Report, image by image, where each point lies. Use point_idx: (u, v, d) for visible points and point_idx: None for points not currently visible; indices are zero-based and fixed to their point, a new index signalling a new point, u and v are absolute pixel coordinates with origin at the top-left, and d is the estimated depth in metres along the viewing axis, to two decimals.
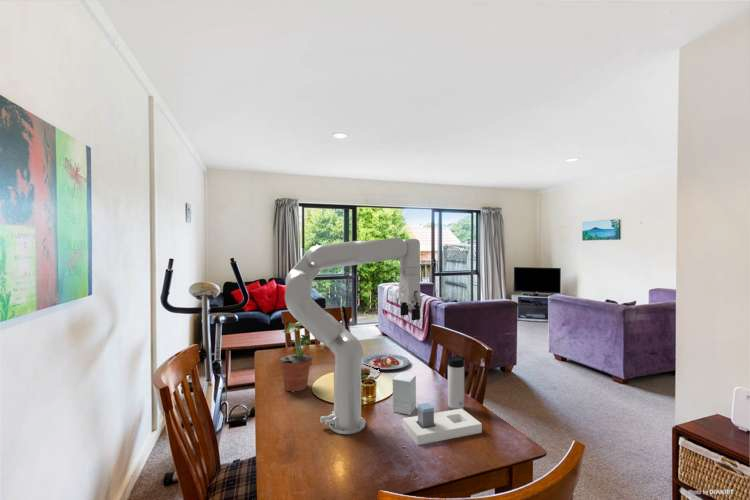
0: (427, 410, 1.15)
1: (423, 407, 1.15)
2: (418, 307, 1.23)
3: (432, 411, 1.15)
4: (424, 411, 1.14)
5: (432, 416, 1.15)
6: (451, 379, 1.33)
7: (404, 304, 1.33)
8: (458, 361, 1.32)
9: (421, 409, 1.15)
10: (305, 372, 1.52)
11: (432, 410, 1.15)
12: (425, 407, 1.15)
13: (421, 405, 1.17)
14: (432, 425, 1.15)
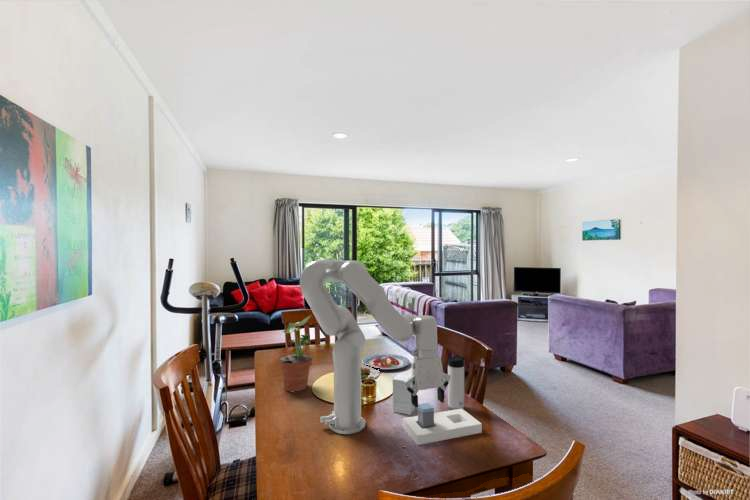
0: (427, 410, 1.15)
1: (423, 407, 1.15)
2: None
3: (432, 411, 1.15)
4: (424, 411, 1.14)
5: (432, 416, 1.15)
6: (451, 379, 1.33)
7: None
8: (458, 361, 1.32)
9: (421, 409, 1.15)
10: (305, 372, 1.52)
11: (432, 410, 1.15)
12: (425, 407, 1.15)
13: (421, 405, 1.17)
14: (432, 425, 1.15)
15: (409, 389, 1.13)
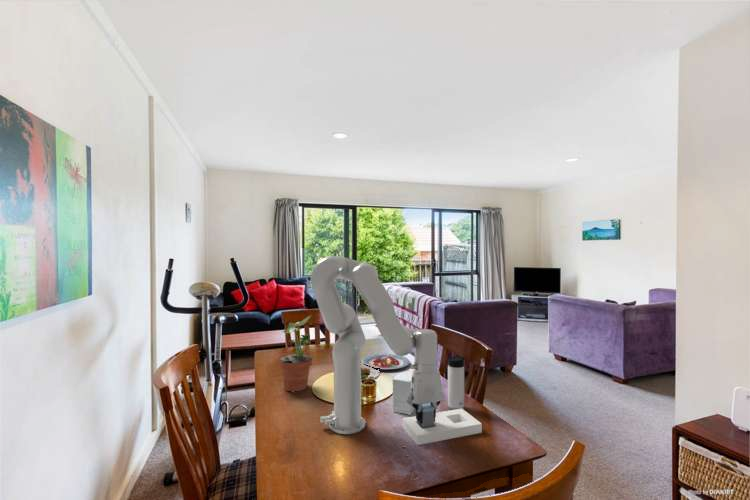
0: (427, 410, 1.15)
1: (423, 407, 1.15)
2: None
3: (432, 411, 1.15)
4: (424, 411, 1.14)
5: (432, 416, 1.15)
6: (451, 379, 1.33)
7: None
8: (458, 361, 1.32)
9: (421, 409, 1.15)
10: (305, 372, 1.52)
11: (432, 410, 1.15)
12: (425, 407, 1.15)
13: None
14: (432, 425, 1.15)
15: (414, 405, 1.14)
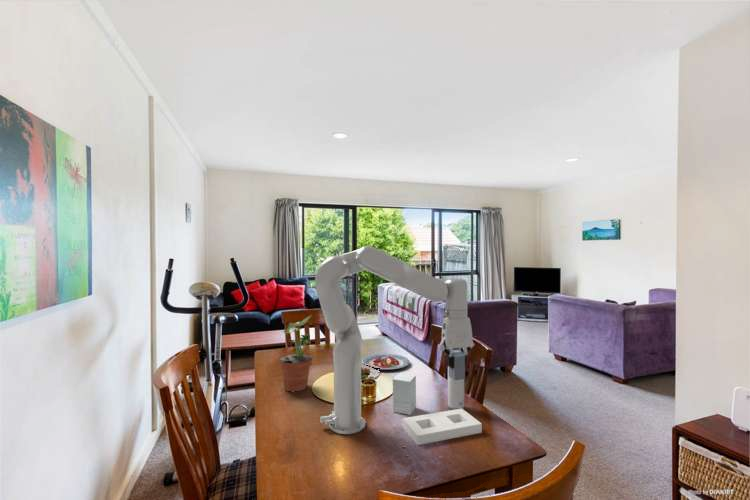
0: (458, 355, 1.18)
1: (454, 352, 1.19)
2: None
3: (463, 356, 1.19)
4: (456, 356, 1.18)
5: (463, 361, 1.19)
6: (451, 379, 1.33)
7: None
8: None
9: None
10: (305, 372, 1.52)
11: (463, 355, 1.19)
12: (456, 352, 1.19)
13: None
14: (463, 370, 1.19)
15: (446, 350, 1.18)
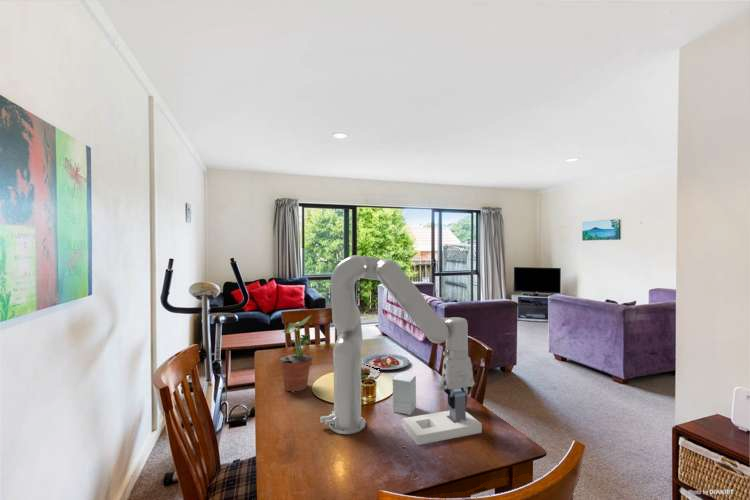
0: (459, 395, 1.18)
1: (455, 392, 1.19)
2: None
3: (464, 396, 1.19)
4: (456, 396, 1.18)
5: (464, 401, 1.19)
6: None
7: None
8: None
9: (453, 394, 1.19)
10: (305, 372, 1.52)
11: (464, 395, 1.19)
12: (457, 392, 1.19)
13: None
14: (464, 409, 1.19)
15: (446, 391, 1.18)
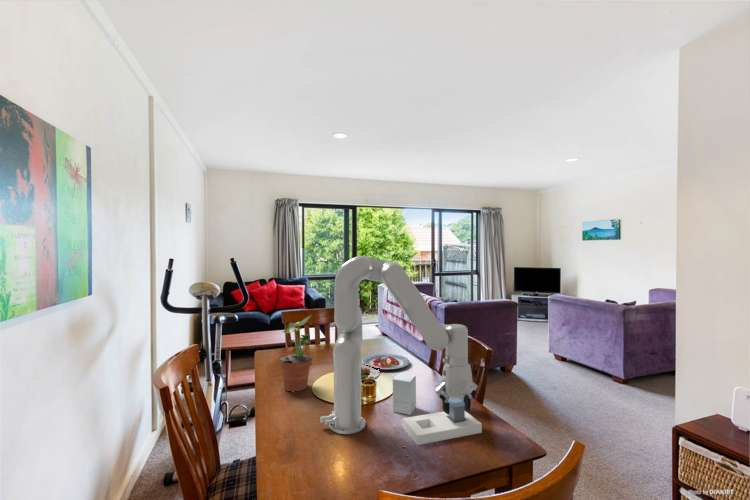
0: (458, 405, 1.18)
1: (454, 402, 1.19)
2: None
3: (463, 406, 1.19)
4: (455, 406, 1.18)
5: (463, 411, 1.19)
6: None
7: None
8: None
9: (452, 404, 1.19)
10: (305, 372, 1.52)
11: (463, 405, 1.19)
12: (456, 402, 1.19)
13: (452, 400, 1.21)
14: (463, 420, 1.19)
15: (441, 396, 1.18)
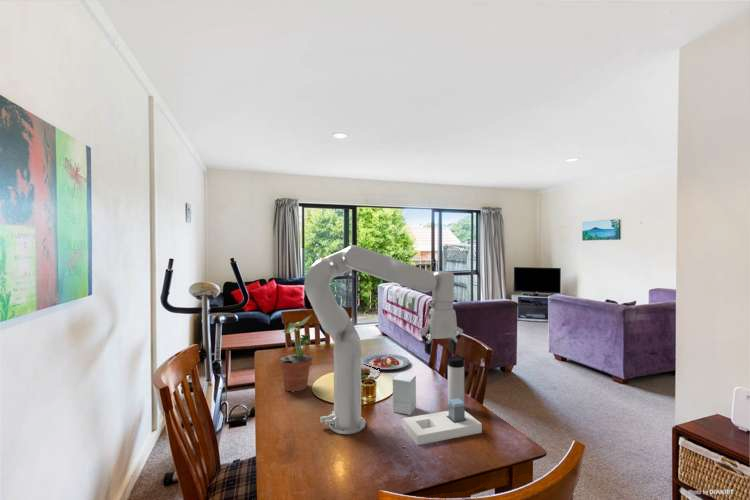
0: (458, 405, 1.18)
1: (454, 402, 1.19)
2: None
3: (463, 406, 1.19)
4: (455, 406, 1.18)
5: (463, 411, 1.19)
6: (451, 379, 1.33)
7: None
8: (458, 361, 1.32)
9: (452, 404, 1.19)
10: (305, 372, 1.52)
11: (463, 405, 1.19)
12: (456, 402, 1.19)
13: (452, 400, 1.21)
14: (463, 420, 1.19)
15: (424, 337, 1.21)
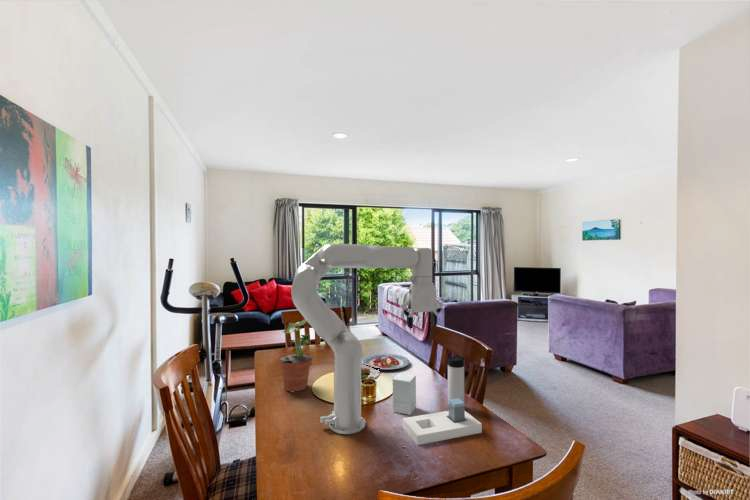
0: (458, 405, 1.18)
1: (454, 402, 1.19)
2: None
3: (463, 406, 1.19)
4: (455, 406, 1.18)
5: (463, 411, 1.19)
6: (451, 379, 1.33)
7: None
8: (458, 361, 1.32)
9: (452, 404, 1.19)
10: (305, 372, 1.52)
11: (463, 405, 1.19)
12: (456, 402, 1.19)
13: (452, 400, 1.21)
14: (463, 420, 1.19)
15: (405, 311, 1.25)
